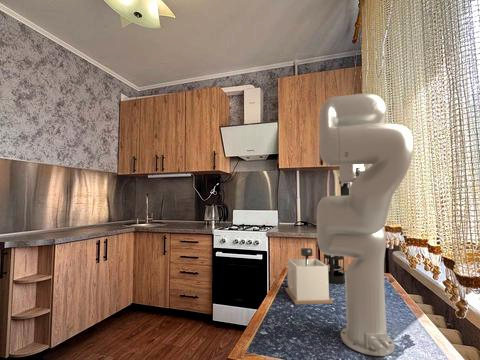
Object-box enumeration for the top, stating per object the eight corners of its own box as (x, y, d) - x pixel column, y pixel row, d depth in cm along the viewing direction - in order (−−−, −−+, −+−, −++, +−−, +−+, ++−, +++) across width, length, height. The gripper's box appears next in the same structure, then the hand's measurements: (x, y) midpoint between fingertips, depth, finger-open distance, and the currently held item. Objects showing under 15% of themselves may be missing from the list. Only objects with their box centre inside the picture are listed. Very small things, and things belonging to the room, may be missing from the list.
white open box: (332, 303, 92) (331, 266, 93) (294, 304, 91) (293, 267, 92) (318, 289, 106) (317, 258, 107) (284, 290, 105) (284, 258, 106)
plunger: (324, 291, 94) (323, 251, 95) (299, 292, 93) (298, 251, 94) (315, 282, 104) (314, 246, 105) (291, 283, 103) (291, 246, 104)
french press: (342, 286, 110) (341, 232, 112) (321, 282, 115) (319, 231, 117) (347, 279, 120) (346, 230, 122) (327, 275, 125) (326, 229, 127)
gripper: (374, 146, 83) (376, 198, 82) (348, 155, 100) (349, 198, 99) (352, 145, 83) (354, 198, 81) (329, 155, 100) (331, 198, 99)
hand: (351, 198), depth 90 cm, fingers open, 9 cm apart
